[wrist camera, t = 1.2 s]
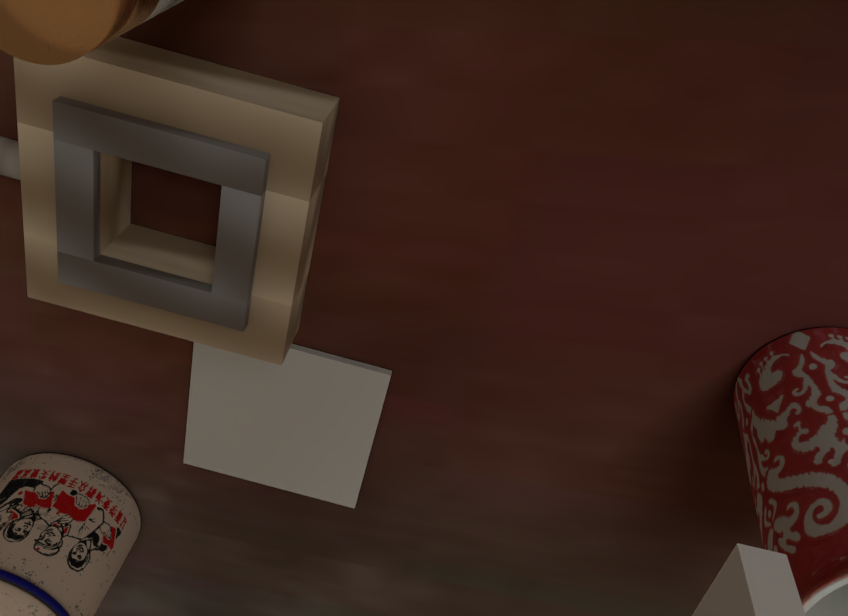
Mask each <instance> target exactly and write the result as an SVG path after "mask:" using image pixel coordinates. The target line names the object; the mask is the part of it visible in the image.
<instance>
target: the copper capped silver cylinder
mask: <svg viewBox="0 0 848 616" xmlns="http://www.w3.org/2000/svg"><path fill="white" fill-rule="evenodd" d="M182 1H183V0H0V49H1V50H2V51H4V52H6V53H7V54H9V55H11V56H14V57H16V58H18V59H21V60H24V61H26V62H30V63H35V64H39V65H60V64H65V63H69V62H72V61H74V60H77V59H79V58H80V57H82V56H84V55H86V54H88V53H89V52H91V51H93V50H95V49H97V48H98V47H100V46H102V45H104V44H106V43H108V42H109V41H111V40H113V39H115V38H117V37H118V36H120V35H122V34H124V33H126V32H127V31H129V30H131V29H133V28H135V27H136V26H138V25H140V24H142V23H144V22H145V21H147V20H149V19H151V18H153V17H154V16H156V15H158V14H160V13H162V12H164V11H165V10H167V9H169V8H171V7H173V6H174V5H176V4H178V3H180V2H182Z"/></svg>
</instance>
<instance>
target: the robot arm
mask: <svg viewBox="0 0 848 616" xmlns="http://www.w3.org/2000/svg"><path fill="white" fill-rule="evenodd" d="M692 616H806V615H805V612H804V609H803V606H802V603H801V599H800V596H799V593H798V590H797V587H796V583H795V580H794V577H793V574H792V571H791V567H790V564H789V561H788V558H787V555H786V554H782V553H778V552H773V551H769V550H765V549H760V548H756V547H752V546H747V545H743V544H739V543H737V544H736V546H735V548H734V549H733V551H732V552H731V554H730V556H729V557H728V559H727V560H726V562H725V564H724V565H723V567H722V568H721V570H720V572H719V573H718V575H717V576H716V578H715V580H714V581H713V583H712V584H711V586H710V588H709V589H708V591H707V592H706V594H705V596H704V597H703V599H702V600H701V602H700V604H699V605H698V607H697V608H696V610H695V612H694V613H693V615H692Z"/></svg>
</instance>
